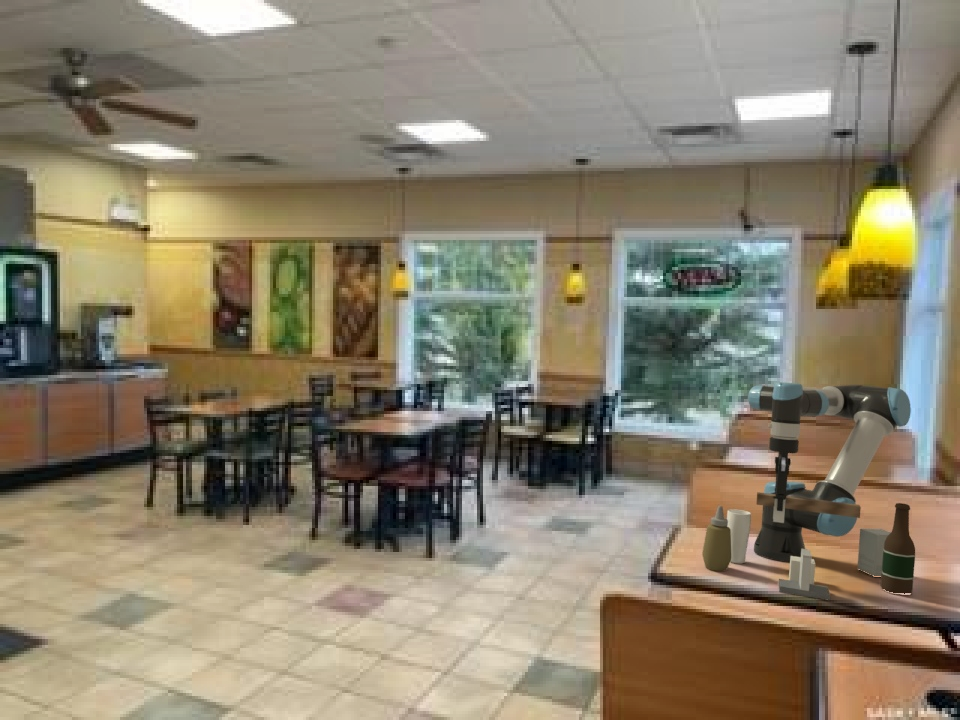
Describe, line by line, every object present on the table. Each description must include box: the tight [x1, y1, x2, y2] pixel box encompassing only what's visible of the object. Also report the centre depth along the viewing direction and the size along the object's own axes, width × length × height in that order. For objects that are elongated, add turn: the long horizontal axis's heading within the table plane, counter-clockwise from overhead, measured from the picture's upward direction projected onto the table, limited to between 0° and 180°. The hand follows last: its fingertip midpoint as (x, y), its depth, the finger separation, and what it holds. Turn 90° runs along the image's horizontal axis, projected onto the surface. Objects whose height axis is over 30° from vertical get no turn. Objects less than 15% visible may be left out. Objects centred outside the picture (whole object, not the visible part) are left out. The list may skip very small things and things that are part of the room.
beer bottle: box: [880, 502, 916, 594], centre depth 194 cm, size 8×8×24 cm
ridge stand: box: [778, 548, 831, 601], centre depth 189 cm, size 12×7×11 cm, turn 69°
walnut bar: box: [756, 492, 862, 519], centre depth 198 cm, size 26×3×3 cm, turn 69°
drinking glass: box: [726, 508, 752, 565], centre depth 213 cm, size 7×7×15 cm
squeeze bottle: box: [701, 505, 731, 572], centre depth 205 cm, size 8×8×18 cm
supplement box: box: [856, 528, 892, 576], centre depth 210 cm, size 7×7×13 cm
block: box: [788, 556, 816, 584], centre depth 198 cm, size 6×5×6 cm
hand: (778, 520), depth 200 cm, fingers closed on walnut bar, 3 cm apart
